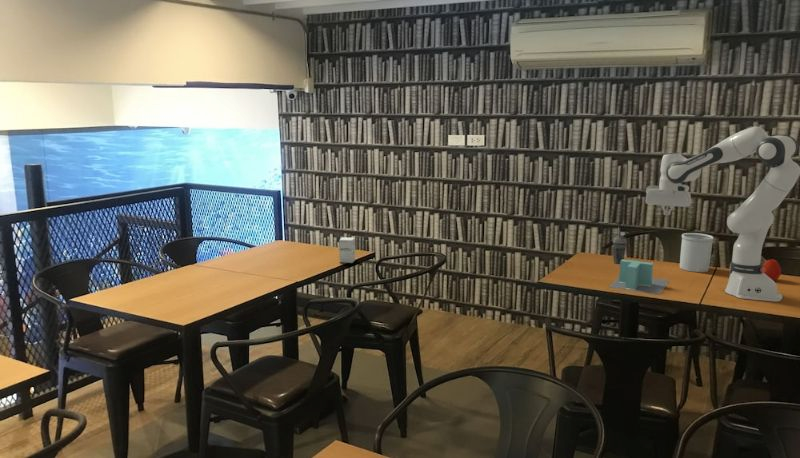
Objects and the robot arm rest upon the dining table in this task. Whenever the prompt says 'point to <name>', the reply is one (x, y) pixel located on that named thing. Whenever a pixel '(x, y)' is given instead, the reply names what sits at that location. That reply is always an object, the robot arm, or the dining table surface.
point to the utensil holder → (695, 252)
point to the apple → (772, 269)
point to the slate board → (643, 286)
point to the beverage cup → (619, 248)
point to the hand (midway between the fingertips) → (666, 214)
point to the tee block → (635, 273)
